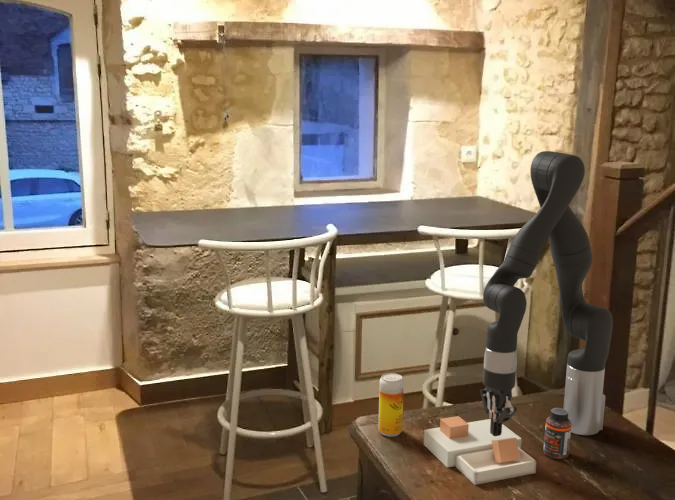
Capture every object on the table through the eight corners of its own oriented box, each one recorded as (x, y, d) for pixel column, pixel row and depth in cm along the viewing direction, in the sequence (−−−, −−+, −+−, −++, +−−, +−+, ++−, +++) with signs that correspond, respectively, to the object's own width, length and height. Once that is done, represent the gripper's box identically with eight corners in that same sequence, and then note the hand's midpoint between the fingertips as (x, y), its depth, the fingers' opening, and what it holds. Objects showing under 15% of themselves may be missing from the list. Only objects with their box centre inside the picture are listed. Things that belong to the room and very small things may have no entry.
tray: (514, 456, 180) (515, 444, 180) (535, 472, 172) (536, 461, 172) (455, 467, 175) (456, 455, 174) (474, 484, 167) (475, 472, 166)
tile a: (510, 437, 178) (516, 437, 176) (513, 459, 177) (520, 459, 175) (491, 440, 177) (497, 440, 174) (494, 462, 176) (501, 462, 173)
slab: (493, 432, 192) (494, 418, 191) (520, 453, 181) (521, 438, 181) (423, 444, 185) (424, 429, 185) (447, 467, 174) (447, 451, 174)
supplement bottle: (539, 455, 181) (542, 411, 178) (548, 446, 185) (552, 403, 183) (563, 462, 177) (567, 418, 175) (572, 453, 182) (576, 410, 180)
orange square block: (457, 427, 186) (458, 416, 186) (468, 435, 182) (468, 424, 181) (439, 430, 184) (440, 418, 184) (449, 439, 180) (450, 427, 179)
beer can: (400, 438, 188) (402, 382, 185) (376, 436, 190) (378, 380, 186) (403, 428, 194) (405, 373, 191) (380, 425, 195) (381, 371, 192)
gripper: (529, 374, 171) (524, 444, 175) (498, 355, 183) (494, 421, 187) (501, 378, 169) (496, 449, 172) (471, 358, 181) (467, 425, 185)
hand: (495, 434), depth 180 cm, fingers closed
